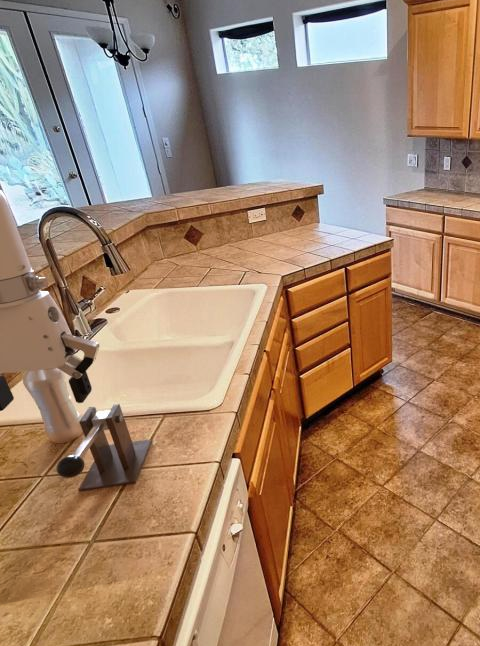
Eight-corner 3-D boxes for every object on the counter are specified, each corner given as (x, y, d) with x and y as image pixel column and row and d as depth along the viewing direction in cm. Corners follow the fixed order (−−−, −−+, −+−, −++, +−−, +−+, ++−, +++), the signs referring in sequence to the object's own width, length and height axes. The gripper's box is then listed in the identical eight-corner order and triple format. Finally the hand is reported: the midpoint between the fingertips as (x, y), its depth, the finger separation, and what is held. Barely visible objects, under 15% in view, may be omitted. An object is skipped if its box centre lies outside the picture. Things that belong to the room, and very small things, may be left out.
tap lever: (81, 480, 65) (75, 462, 64) (56, 484, 64) (48, 466, 63) (118, 423, 79) (113, 407, 78) (97, 425, 79) (92, 409, 77)
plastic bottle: (91, 424, 93) (60, 343, 84) (81, 444, 88) (47, 359, 79) (56, 430, 91) (21, 347, 83) (44, 450, 86) (5, 364, 77)
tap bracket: (136, 485, 78) (116, 429, 72) (80, 494, 76) (55, 437, 70) (153, 443, 88) (137, 391, 83) (104, 450, 86) (84, 397, 81)
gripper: (89, 275, 59) (121, 381, 66) (-64, 282, 55) (-11, 394, 62) (65, 294, 52) (104, 409, 60) (-111, 303, 48) (-45, 425, 56)
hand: (45, 401), depth 61 cm, fingers open, 9 cm apart
